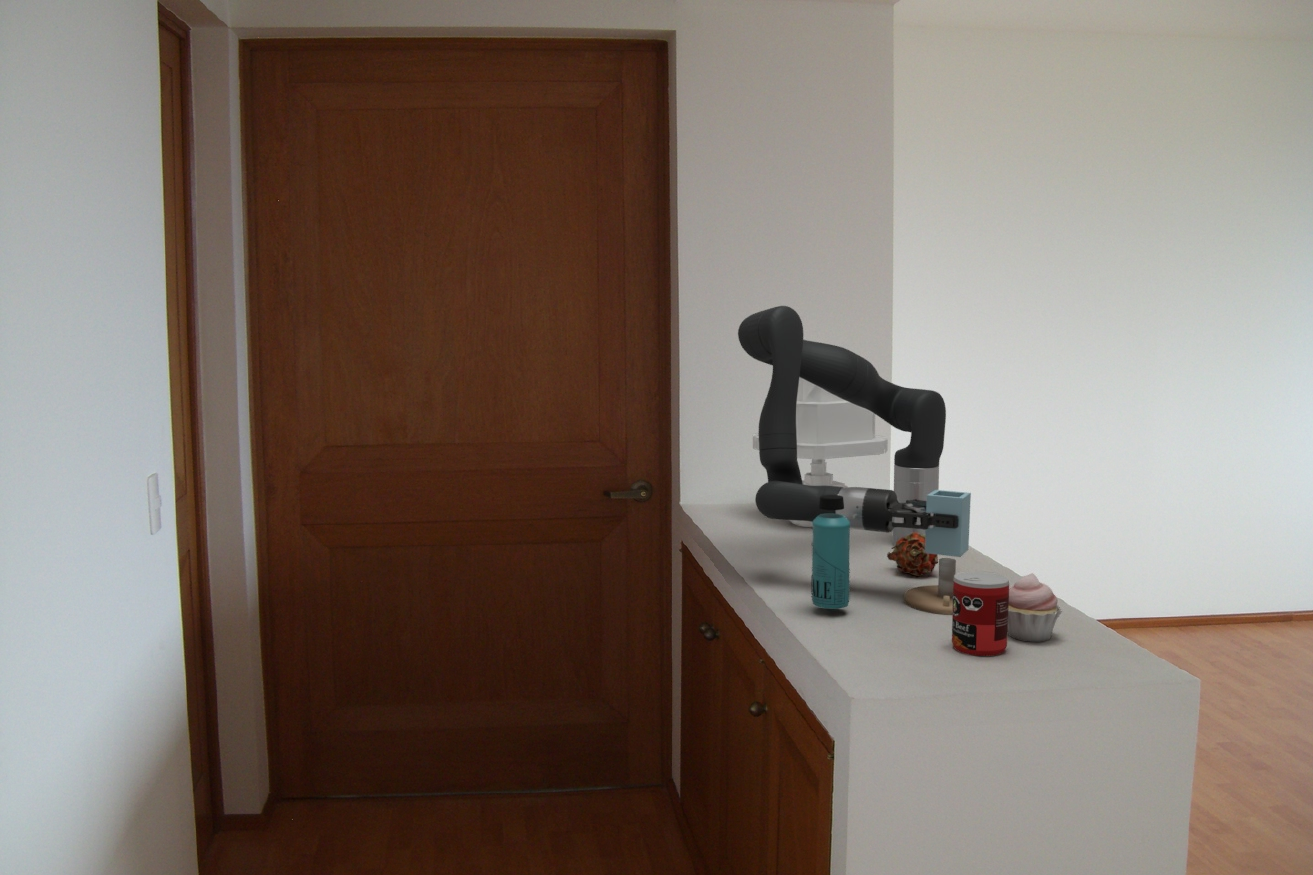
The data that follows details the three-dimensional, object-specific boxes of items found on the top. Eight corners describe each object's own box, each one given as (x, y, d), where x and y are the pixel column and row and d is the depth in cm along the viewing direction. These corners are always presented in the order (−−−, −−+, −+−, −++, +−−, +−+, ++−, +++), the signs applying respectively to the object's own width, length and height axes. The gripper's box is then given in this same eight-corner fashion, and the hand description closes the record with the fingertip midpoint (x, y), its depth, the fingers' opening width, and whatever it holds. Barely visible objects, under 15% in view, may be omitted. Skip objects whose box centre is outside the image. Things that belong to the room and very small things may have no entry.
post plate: (934, 587, 195) (936, 546, 194) (1004, 603, 184) (1006, 560, 183) (888, 602, 186) (889, 559, 185) (958, 620, 175) (960, 574, 174)
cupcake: (1074, 638, 165) (1077, 575, 164) (1034, 649, 161) (1036, 584, 159) (1024, 623, 173) (1027, 563, 172) (985, 633, 168) (987, 571, 167)
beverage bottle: (852, 608, 182) (854, 492, 179) (846, 619, 176) (848, 499, 173) (814, 605, 184) (816, 490, 182) (806, 616, 178) (808, 497, 175)
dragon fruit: (922, 590, 199) (900, 582, 211) (957, 562, 200) (933, 555, 212) (895, 554, 198) (874, 548, 210) (930, 525, 199) (907, 521, 211)
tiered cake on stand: (740, 517, 257) (740, 371, 253) (833, 507, 269) (835, 368, 264) (800, 539, 233) (802, 379, 229) (899, 527, 245) (903, 374, 240)
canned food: (944, 641, 165) (946, 571, 163) (994, 639, 165) (997, 570, 164) (962, 657, 157) (964, 584, 156) (1015, 656, 158) (1018, 583, 156)
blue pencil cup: (933, 545, 188) (935, 489, 186) (968, 549, 185) (970, 492, 184) (924, 552, 182) (926, 495, 181) (960, 557, 180) (962, 498, 178)
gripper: (854, 494, 183) (953, 503, 175) (879, 482, 196) (973, 490, 188) (853, 537, 184) (951, 548, 176) (878, 522, 196) (971, 532, 188)
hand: (962, 518), depth 182 cm, fingers closed on blue pencil cup, 6 cm apart
